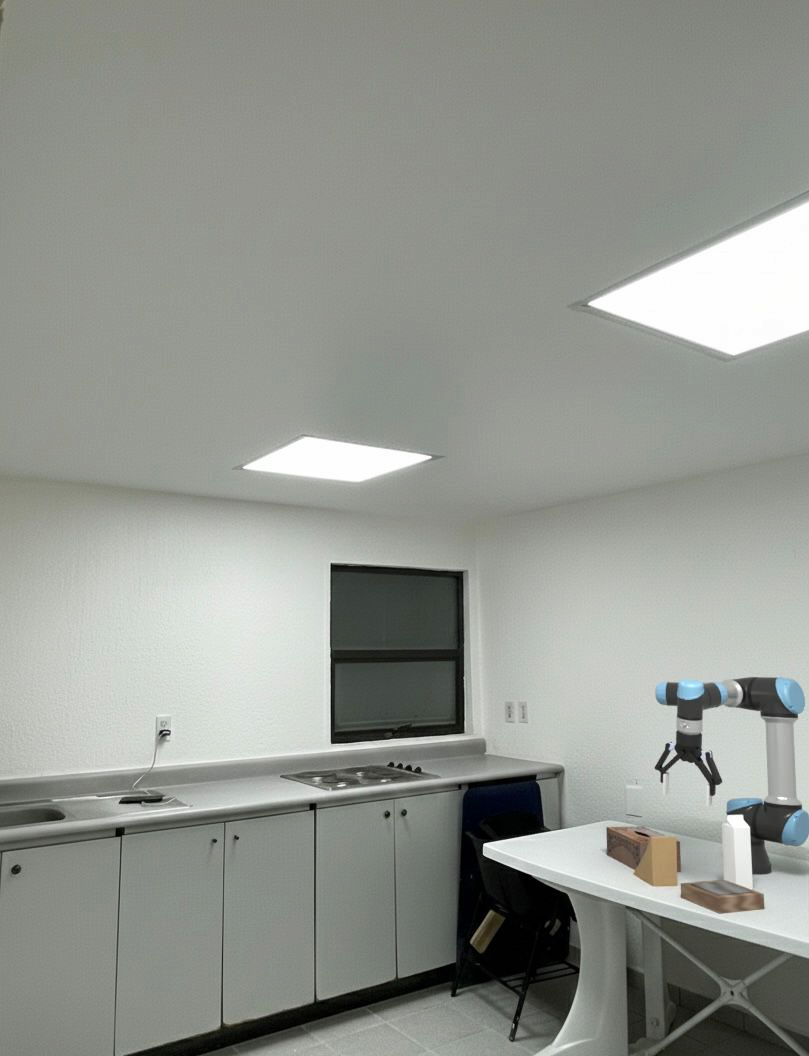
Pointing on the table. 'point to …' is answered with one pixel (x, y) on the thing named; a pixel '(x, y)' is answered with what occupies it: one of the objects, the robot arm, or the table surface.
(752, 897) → the walnut plinth
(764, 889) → the table surface
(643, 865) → the sandwich container
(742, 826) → the milk
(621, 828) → the tissue box cover
